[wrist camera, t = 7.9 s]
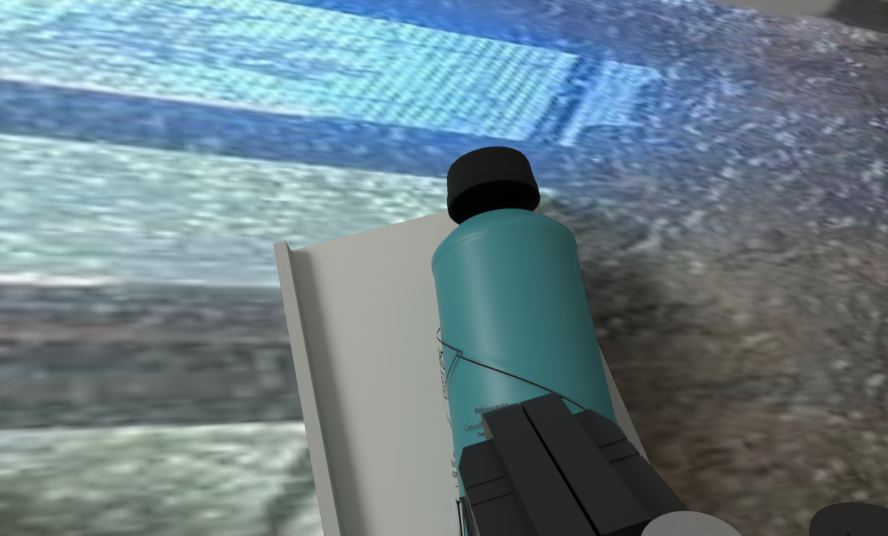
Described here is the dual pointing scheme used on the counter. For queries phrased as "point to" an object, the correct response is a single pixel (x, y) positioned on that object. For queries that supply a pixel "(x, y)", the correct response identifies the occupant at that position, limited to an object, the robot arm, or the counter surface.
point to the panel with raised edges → (379, 379)
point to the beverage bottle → (509, 303)
